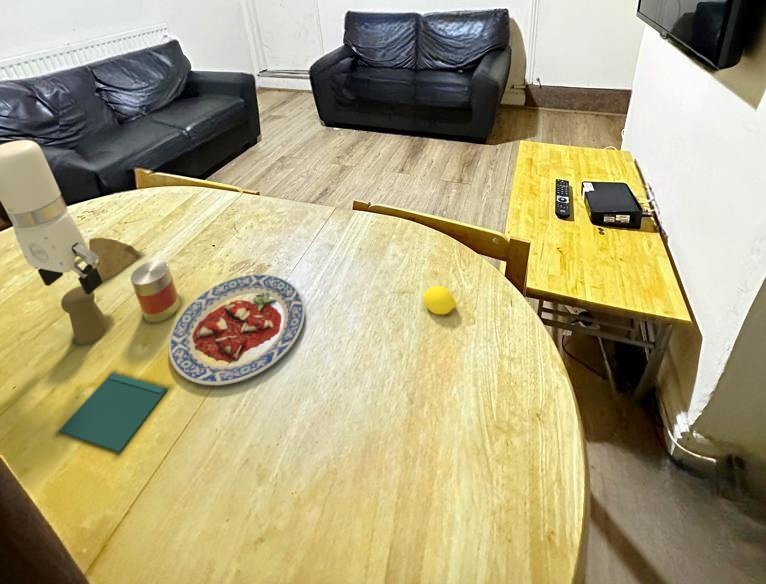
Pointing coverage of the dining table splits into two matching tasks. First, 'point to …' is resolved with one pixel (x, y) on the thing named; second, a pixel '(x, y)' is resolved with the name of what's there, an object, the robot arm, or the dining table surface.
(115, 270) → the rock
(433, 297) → the lemon
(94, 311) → the brown pepper mill
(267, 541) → the dining table surface
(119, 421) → the notepad
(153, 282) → the tin can
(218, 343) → the ceramic plate
